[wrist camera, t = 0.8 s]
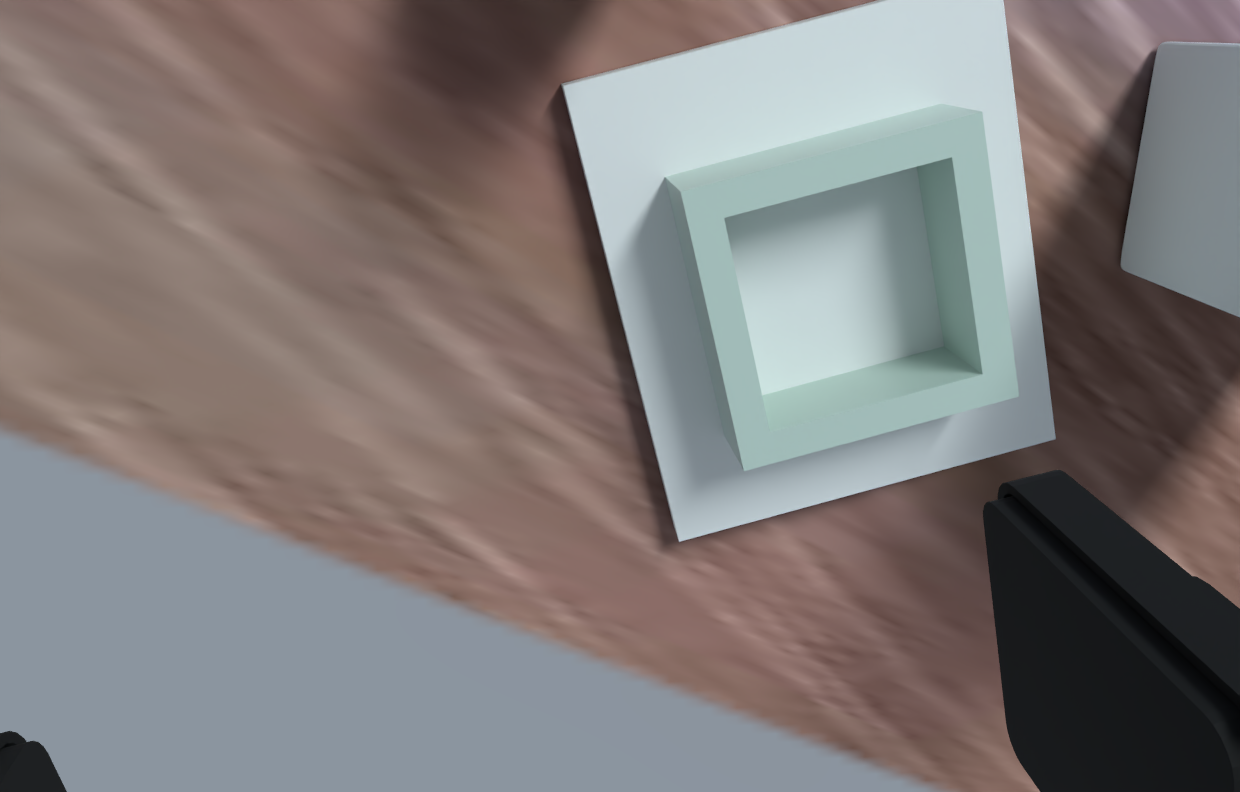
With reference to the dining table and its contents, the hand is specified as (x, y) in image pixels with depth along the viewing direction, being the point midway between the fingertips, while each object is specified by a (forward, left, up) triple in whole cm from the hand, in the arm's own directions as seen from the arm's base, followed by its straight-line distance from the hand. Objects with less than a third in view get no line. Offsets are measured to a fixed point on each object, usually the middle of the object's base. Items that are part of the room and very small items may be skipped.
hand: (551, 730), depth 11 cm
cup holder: (+3, +9, -25) cm, 27 cm away
